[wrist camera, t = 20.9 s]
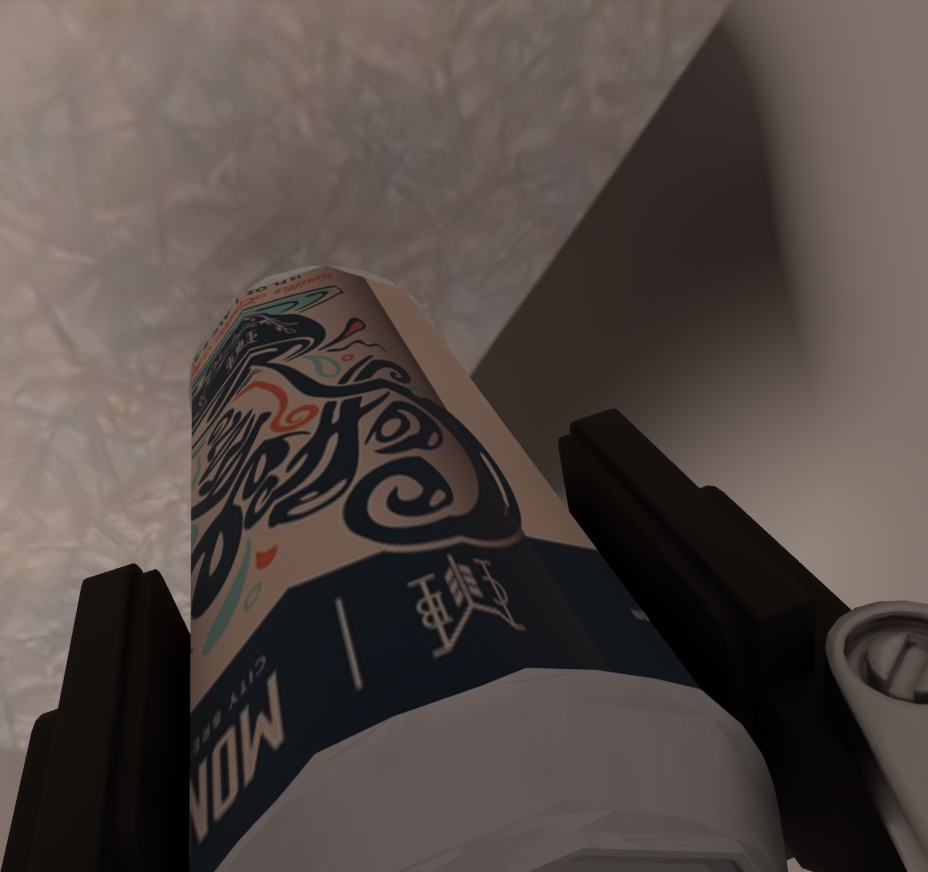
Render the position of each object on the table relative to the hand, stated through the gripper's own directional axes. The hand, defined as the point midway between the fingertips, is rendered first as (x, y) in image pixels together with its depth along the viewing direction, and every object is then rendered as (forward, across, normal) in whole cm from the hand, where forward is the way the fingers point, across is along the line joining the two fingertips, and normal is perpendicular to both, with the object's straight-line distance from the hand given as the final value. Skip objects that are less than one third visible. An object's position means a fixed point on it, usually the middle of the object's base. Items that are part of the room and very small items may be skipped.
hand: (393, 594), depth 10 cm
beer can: (+7, 0, 0) cm, 7 cm away
